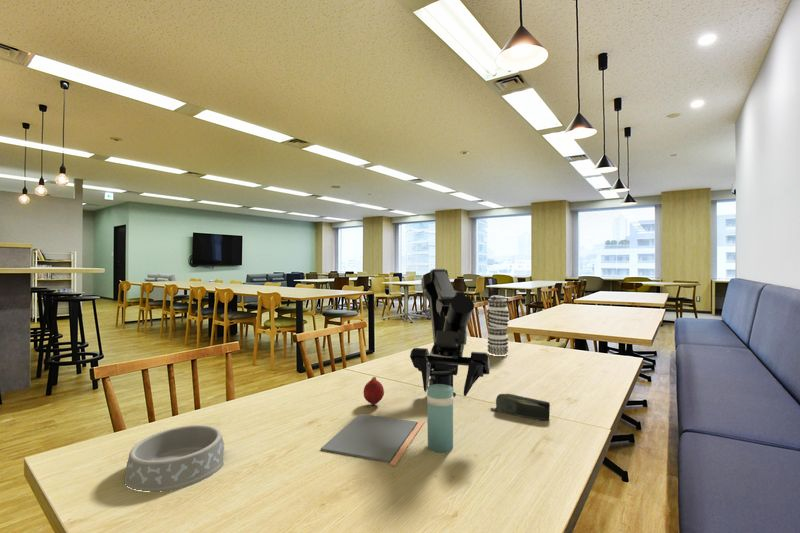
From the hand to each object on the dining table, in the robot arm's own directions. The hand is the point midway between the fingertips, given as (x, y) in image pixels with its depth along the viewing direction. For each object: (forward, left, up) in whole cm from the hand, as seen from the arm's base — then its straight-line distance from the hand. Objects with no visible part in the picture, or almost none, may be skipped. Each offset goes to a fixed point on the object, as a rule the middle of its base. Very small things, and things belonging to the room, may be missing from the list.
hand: (444, 393), depth 90 cm
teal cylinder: (+3, +3, -11) cm, 11 cm away
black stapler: (-25, -4, -11) cm, 28 cm away
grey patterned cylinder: (-60, -59, -11) cm, 85 cm away
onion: (+8, -26, -11) cm, 30 cm away
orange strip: (+8, -2, -11) cm, 14 cm away
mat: (+14, -8, -11) cm, 20 cm away
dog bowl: (+55, -12, -11) cm, 57 cm away
